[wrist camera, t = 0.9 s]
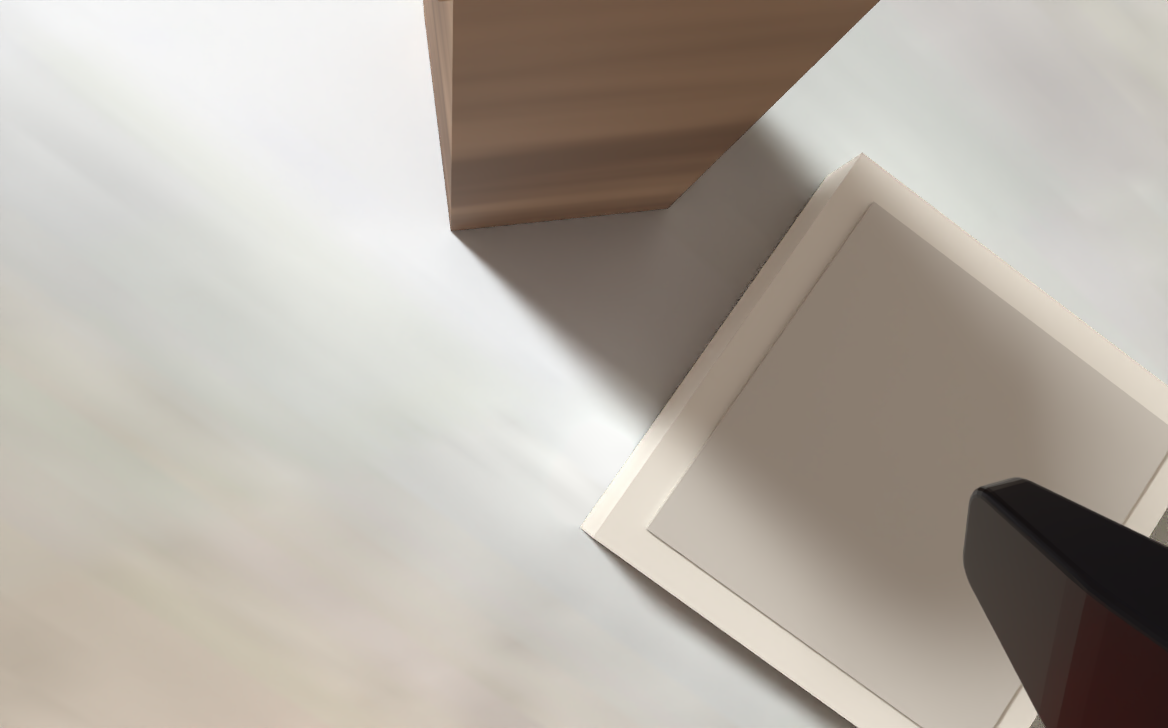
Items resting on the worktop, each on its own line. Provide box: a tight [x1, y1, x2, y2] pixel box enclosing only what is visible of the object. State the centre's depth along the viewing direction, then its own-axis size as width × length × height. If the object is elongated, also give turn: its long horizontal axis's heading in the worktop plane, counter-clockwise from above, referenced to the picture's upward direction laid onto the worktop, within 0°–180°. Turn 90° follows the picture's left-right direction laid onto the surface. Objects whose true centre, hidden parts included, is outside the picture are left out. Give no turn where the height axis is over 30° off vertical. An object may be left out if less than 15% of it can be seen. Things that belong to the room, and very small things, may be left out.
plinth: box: [580, 153, 1168, 728], centre depth 22 cm, size 9×9×2 cm
